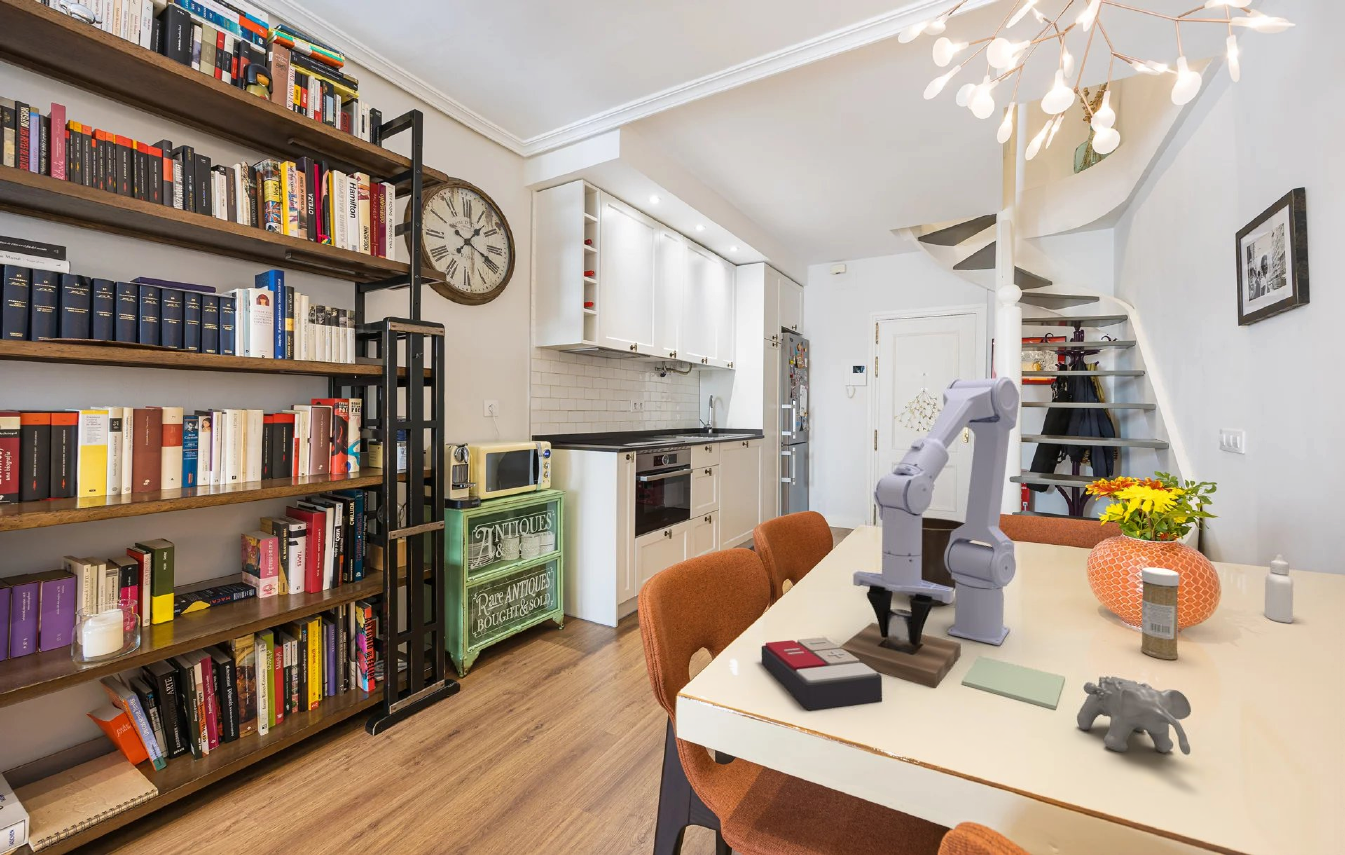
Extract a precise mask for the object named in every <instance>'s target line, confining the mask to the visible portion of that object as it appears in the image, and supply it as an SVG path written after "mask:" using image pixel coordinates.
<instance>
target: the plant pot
mask: <svg viewBox="0 0 1345 855" xmlns="http://www.w3.org/2000/svg"><path fill="white" fill-rule="evenodd" d="M963 524H965V522H962V521H959V520H953V519H945V518H937V517H925V516H924V517H923V516H922V572H921V580H924V581H927V582H931V583H935V584H938V585H942V586H946V587H951V588H954V589H953V593H955V580H954V579H952V578H951V575H952V574H951V573H950V572H948V570H947V568H946V566H945V562H944V554H945V550H946V548H947V546H948V544H949V541H950V536H951V532H952V531H954V530H955V529H957V528H959V527H960V526H962V525H963ZM907 596H908V598H909V599H910V600H909V601H911V600H912V599H913V598H915V596H914V595H909V594H907ZM947 605H948V603H943V602H942V601H940V600H936V602H935V603H934V605H933V607H939V606H940V607H941V606H947Z"/></svg>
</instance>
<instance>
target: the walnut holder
mask: <svg viewBox="0 0 1345 855" xmlns="http://www.w3.org/2000/svg"><path fill="white" fill-rule="evenodd" d="M839 647H840V649H844V650H845V651H847V652H848V653H850V654H851V655H853V656H855V657H856V658H858V659H859V662H861V663H863V664H865V665H867V666H868V667H870V668H871V669H873V670H874V671H876V672H877V673H878V672H879V673H883V674H886V675H889V676H892V677H896V678H900V679H904V680H907V681H910V682H913V681H914V683H917V684H921V685H925V686H928V687H931V688H934V689H935V688H937V687H938V686H939V685H940V683H941V682H940V681H942V680H943V679H944V678H945V677H946V675H947V674H948V673H949V672H950V670H951V669H952V668H953V667H954V665H955V664H956V663H955V662H957V661H958V660H959V659H958V658H961V655H962V642H958V641H953V640H950V639H944V638H939V637H936V636H931V635H928V634H925V633H924V634H923V633H922V635H921V641H920V643H919V644H918V645H915V649H914V655H910V654H906V653H902V652H898V651H894V650H890V649H887V637H886V638H883V637H881V632H880V627H879V623H875V622H871V623H869V625H867V626H866V627H864V628H863V629H862V630H861V631H859V632H857V633H856V634H855V635H853V636H852V637H851V638H849V639H848V640H847V641H845V642H844V643H843V644H841V645H840V646H839ZM951 667H952V668H951Z"/></svg>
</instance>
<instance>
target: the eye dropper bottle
mask: <svg viewBox="0 0 1345 855" xmlns="http://www.w3.org/2000/svg"><path fill="white" fill-rule="evenodd" d="M1275 557H1276V558H1275V559H1274V560H1271V561H1269V564H1270V565H1269V568H1270V569H1269V573H1267V574H1266V575H1265V579H1264V616H1265V617H1266V618H1268V620H1272V621H1273V622H1277V623H1278V622H1279V623H1286V624H1292V622H1293V620H1294V618H1293V617H1294V581H1293V578H1291V576H1290V575H1289V574H1290V564H1289V563H1288V562H1286V561H1285V560H1284V556H1283V555H1282V554H1277V555H1276V556H1275Z"/></svg>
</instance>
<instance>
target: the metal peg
mask: <svg viewBox="0 0 1345 855" xmlns="http://www.w3.org/2000/svg"><path fill="white" fill-rule="evenodd" d="M911 635H912V615H911V610H907V609H906V610H905V609H901V608H900V609H899V608H892V609H891V610H888V611H887V649H890V650H894V651H898V652H902V653H906V654H910V655H914V649H915V645H912V642H911Z"/></svg>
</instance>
